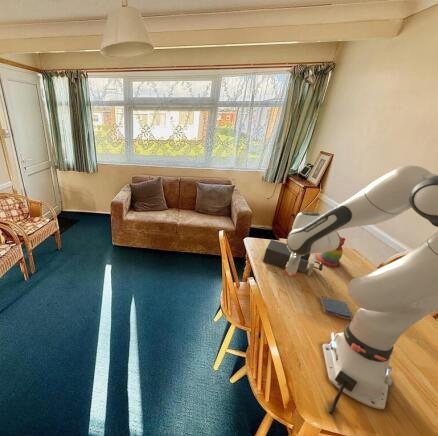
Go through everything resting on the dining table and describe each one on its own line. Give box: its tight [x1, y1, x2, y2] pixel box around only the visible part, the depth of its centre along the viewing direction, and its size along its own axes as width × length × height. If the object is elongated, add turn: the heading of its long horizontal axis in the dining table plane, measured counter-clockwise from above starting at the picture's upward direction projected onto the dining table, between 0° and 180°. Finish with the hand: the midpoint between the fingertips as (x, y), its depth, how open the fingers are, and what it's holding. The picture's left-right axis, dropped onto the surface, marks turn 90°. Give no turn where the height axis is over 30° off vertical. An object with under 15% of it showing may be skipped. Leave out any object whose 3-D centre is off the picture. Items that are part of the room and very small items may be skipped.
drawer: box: [297, 253, 324, 276], centre depth 130 cm, size 18×11×8 cm, turn 52°
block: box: [283, 262, 298, 279], centre depth 106 cm, size 4×4×4 cm
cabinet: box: [262, 239, 291, 270], centre depth 136 cm, size 15×13×10 cm
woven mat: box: [319, 295, 353, 321], centre depth 105 cm, size 10×11×2 cm
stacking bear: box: [316, 236, 346, 268], centre depth 133 cm, size 11×10×18 cm
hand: (290, 270), depth 106 cm, fingers closed on block, 4 cm apart
